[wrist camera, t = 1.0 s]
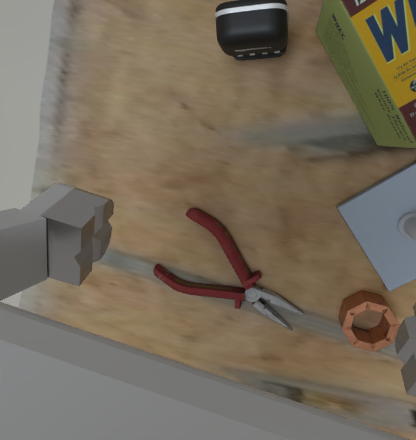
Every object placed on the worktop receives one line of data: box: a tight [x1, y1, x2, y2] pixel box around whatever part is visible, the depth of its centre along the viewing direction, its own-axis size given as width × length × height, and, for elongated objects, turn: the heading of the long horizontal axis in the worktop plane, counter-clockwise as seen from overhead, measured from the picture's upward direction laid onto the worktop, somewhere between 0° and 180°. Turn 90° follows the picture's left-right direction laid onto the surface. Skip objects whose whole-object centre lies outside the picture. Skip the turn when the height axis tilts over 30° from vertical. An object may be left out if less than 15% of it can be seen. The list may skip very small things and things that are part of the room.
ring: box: [339, 291, 399, 351], centre depth 48 cm, size 6×6×4 cm
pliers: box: [154, 208, 304, 331], centre depth 52 cm, size 12×20×3 cm, turn 59°
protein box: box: [316, 0, 416, 148], centre depth 36 cm, size 10×15×16 cm
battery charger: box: [215, 0, 289, 60], centre depth 41 cm, size 7×4×11 cm, turn 93°
